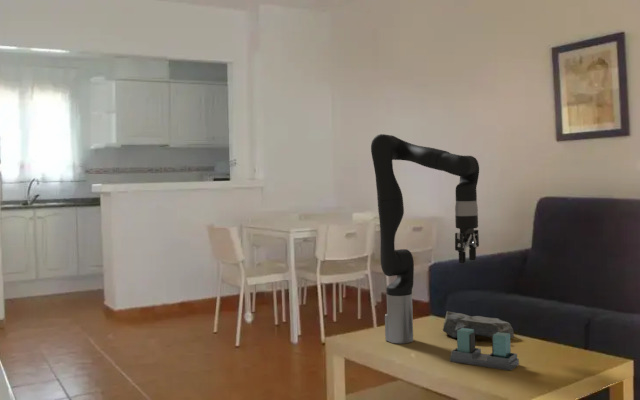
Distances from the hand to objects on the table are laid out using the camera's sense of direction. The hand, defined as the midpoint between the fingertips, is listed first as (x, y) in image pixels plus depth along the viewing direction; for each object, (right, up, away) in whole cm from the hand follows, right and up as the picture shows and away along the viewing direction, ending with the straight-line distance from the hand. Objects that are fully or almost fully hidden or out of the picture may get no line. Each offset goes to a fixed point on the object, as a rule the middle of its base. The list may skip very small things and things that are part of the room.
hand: (467, 261), depth 231 cm
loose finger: (-3, -29, -13) cm, 32 cm away
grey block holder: (+2, -31, -17) cm, 35 cm away
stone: (+8, -30, +20) cm, 36 cm away
